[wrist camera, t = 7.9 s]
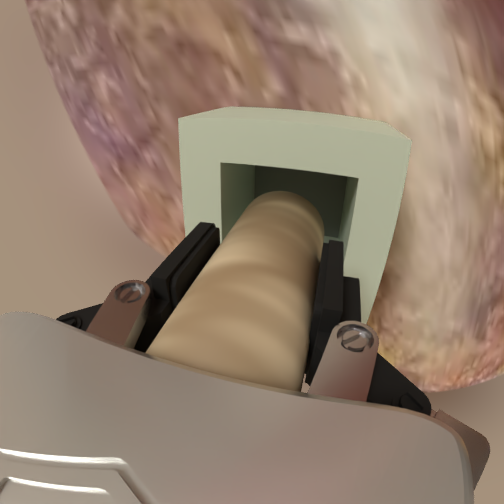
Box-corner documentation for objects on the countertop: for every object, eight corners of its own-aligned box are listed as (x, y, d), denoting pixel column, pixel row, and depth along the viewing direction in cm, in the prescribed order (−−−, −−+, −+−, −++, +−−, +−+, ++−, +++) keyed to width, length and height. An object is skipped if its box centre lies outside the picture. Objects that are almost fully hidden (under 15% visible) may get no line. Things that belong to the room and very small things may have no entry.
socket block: (385, 122, 16) (412, 140, 10) (361, 260, 21) (365, 327, 16) (229, 106, 18) (178, 118, 12) (229, 240, 23) (192, 296, 18)
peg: (329, 197, 13) (279, 505, 3) (318, 272, 15) (263, 529, 5) (242, 186, 14) (53, 416, 4) (241, 260, 16) (121, 482, 6)
